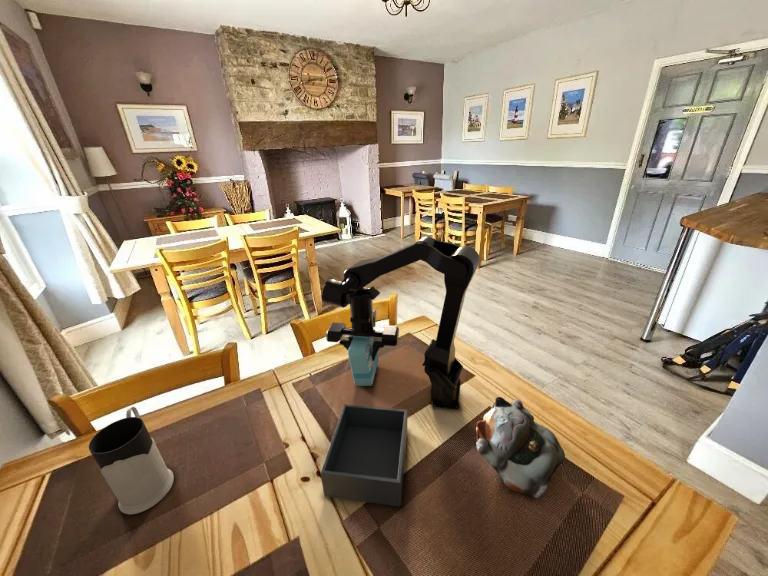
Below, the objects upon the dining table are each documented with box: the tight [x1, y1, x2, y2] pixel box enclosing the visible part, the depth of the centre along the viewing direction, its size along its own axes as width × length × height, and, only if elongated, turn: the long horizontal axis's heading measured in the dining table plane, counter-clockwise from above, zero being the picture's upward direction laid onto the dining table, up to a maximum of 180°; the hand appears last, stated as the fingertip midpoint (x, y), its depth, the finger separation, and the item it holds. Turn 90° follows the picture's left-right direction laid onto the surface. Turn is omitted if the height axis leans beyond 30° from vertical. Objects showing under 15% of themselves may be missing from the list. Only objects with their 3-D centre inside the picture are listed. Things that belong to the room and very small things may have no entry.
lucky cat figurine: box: [475, 396, 566, 499], centre depth 61 cm, size 15×12×14 cm
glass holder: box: [88, 405, 175, 515], centre depth 59 cm, size 9×14×15 cm, turn 27°
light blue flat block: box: [347, 337, 379, 387], centre depth 85 cm, size 12×4×12 cm, turn 172°
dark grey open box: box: [320, 404, 408, 508], centre depth 62 cm, size 14×16×7 cm
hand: (364, 359), depth 86 cm, fingers closed on light blue flat block, 5 cm apart
